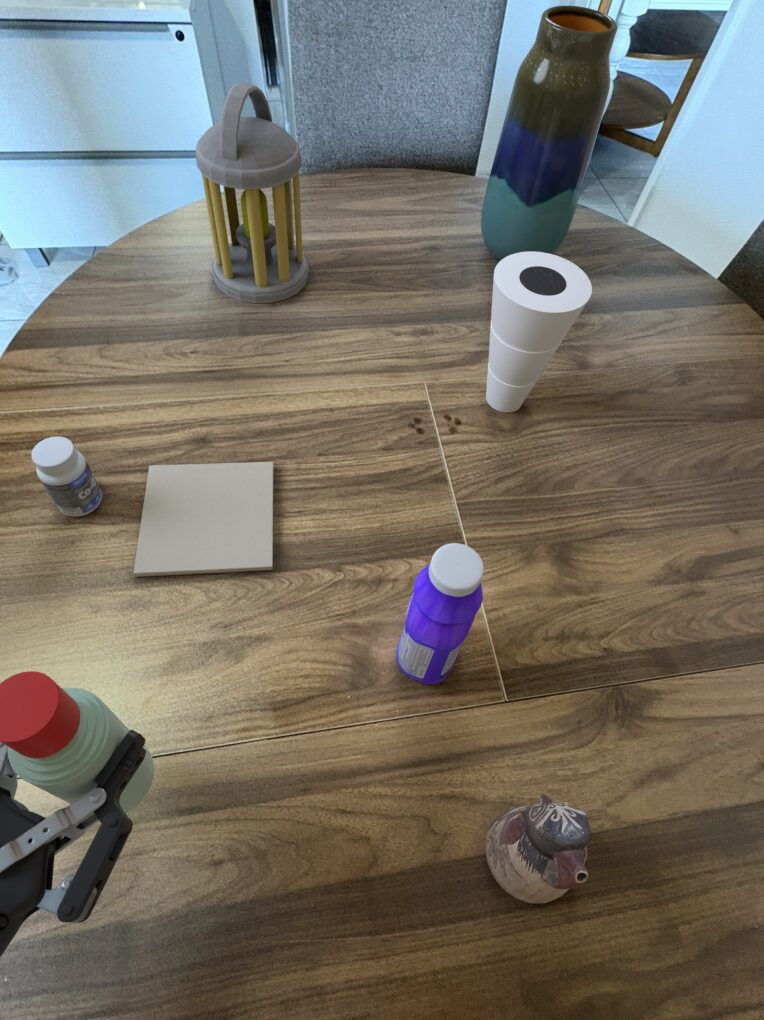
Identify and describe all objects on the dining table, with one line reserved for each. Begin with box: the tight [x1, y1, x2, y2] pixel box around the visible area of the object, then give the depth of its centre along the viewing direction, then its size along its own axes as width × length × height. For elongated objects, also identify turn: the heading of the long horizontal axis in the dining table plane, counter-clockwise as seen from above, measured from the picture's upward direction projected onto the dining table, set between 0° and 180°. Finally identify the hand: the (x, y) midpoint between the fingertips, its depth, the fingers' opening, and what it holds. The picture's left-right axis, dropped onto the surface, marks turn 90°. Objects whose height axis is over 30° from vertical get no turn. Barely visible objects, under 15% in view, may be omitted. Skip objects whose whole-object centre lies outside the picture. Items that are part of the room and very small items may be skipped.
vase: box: [480, 5, 618, 262], centre depth 87 cm, size 14×14×31 cm
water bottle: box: [7, 687, 155, 814], centre depth 42 cm, size 6×6×18 cm
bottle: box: [396, 542, 485, 685], centre depth 53 cm, size 7×6×17 cm
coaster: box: [132, 461, 275, 578], centre depth 67 cm, size 14×14×1 cm
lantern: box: [195, 81, 310, 304], centre depth 82 cm, size 14×14×25 cm
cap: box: [0, 670, 80, 758], centre depth 35 cm, size 4×4×4 cm
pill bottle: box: [30, 436, 103, 518], centre depth 64 cm, size 5×5×8 cm
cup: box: [485, 252, 593, 414], centre depth 74 cm, size 11×11×18 cm
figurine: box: [485, 794, 592, 904], centre depth 46 cm, size 7×7×12 cm
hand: (98, 713), depth 42 cm, fingers closed on water bottle, 6 cm apart
